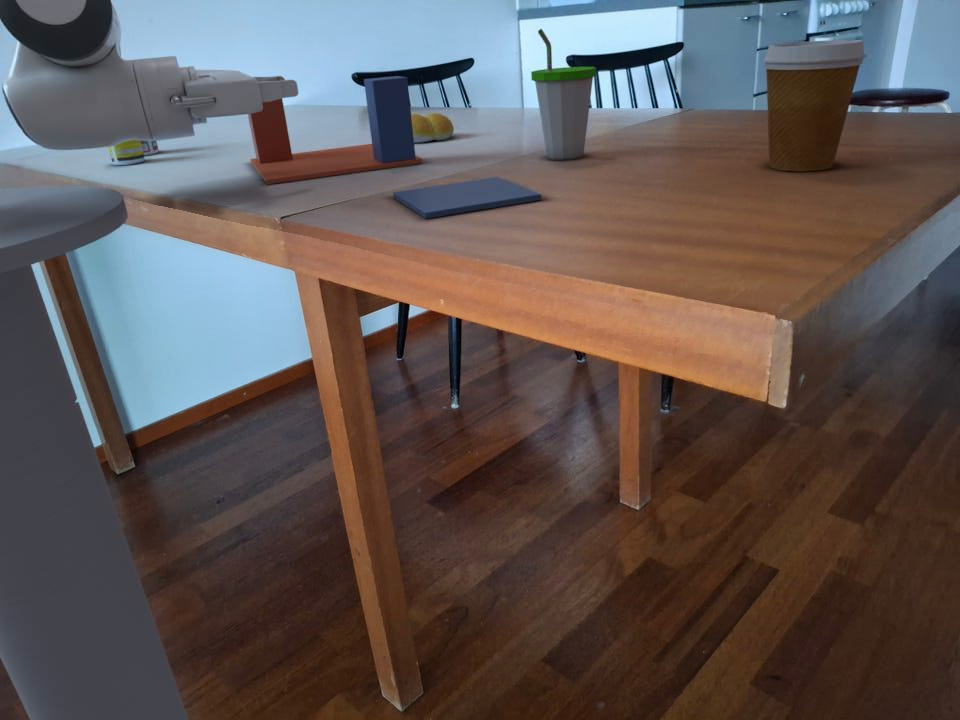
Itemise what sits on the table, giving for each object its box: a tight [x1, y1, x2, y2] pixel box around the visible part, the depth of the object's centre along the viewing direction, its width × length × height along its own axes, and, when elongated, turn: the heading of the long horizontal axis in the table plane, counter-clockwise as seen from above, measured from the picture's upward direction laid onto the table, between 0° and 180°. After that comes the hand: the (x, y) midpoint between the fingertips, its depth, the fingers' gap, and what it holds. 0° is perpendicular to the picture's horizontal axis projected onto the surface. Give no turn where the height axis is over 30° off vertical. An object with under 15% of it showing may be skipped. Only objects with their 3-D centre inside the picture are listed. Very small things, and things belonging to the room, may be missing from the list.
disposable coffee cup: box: [762, 39, 868, 172], centre depth 74 cm, size 10×10×12 cm
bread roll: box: [411, 112, 455, 144], centre depth 114 cm, size 8×9×4 cm
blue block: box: [363, 75, 416, 163], centre depth 93 cm, size 4×4×10 cm
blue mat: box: [392, 176, 542, 220], centre depth 74 cm, size 12×11×1 cm
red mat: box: [250, 143, 423, 185], centre depth 99 cm, size 20×19×1 cm
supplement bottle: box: [107, 140, 146, 166], centre depth 111 cm, size 5×5×8 cm
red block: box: [247, 98, 293, 164], centre depth 100 cm, size 4×4×10 cm
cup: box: [530, 28, 597, 161], centre depth 88 cm, size 8×8×15 cm
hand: (290, 85), depth 88 cm, fingers open, 8 cm apart
